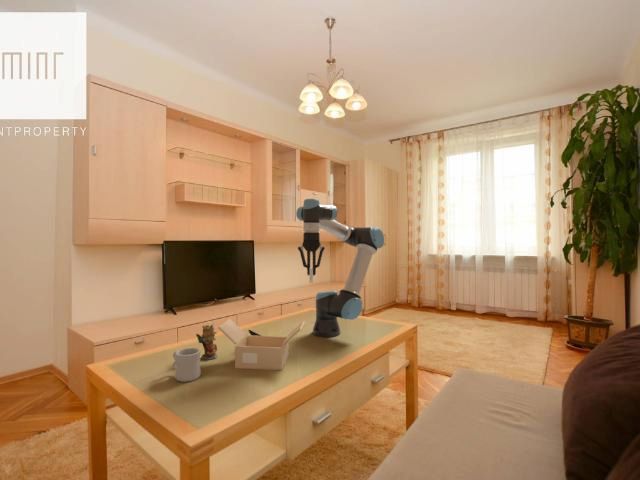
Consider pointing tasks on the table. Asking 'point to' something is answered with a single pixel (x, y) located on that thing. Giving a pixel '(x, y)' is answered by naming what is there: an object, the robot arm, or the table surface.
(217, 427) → the table surface
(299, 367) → the table surface
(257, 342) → the carton
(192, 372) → the mug
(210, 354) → the figurine
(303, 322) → the right flap
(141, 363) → the table surface
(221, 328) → the left flap
